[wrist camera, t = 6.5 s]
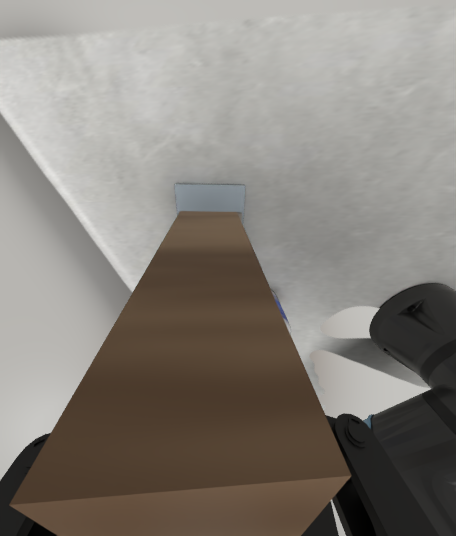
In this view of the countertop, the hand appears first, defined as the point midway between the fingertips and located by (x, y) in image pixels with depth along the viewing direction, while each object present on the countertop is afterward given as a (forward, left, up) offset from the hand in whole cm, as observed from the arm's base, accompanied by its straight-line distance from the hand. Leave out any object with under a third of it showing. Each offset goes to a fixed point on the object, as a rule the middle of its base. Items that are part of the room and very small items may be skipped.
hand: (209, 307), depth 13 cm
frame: (0, 0, -1) cm, 1 cm away
